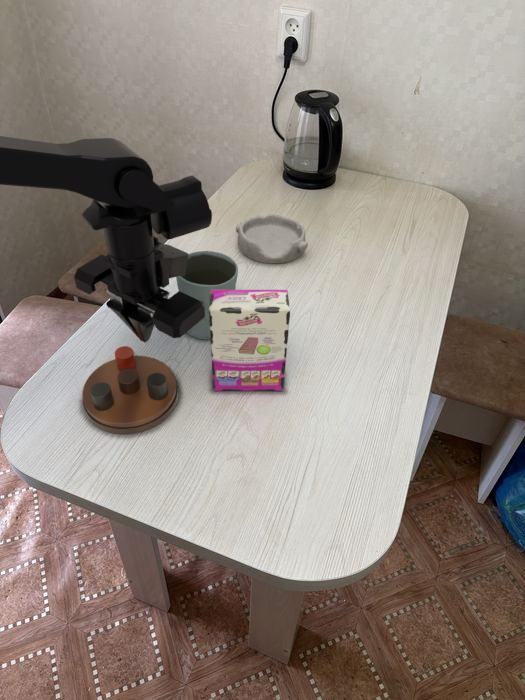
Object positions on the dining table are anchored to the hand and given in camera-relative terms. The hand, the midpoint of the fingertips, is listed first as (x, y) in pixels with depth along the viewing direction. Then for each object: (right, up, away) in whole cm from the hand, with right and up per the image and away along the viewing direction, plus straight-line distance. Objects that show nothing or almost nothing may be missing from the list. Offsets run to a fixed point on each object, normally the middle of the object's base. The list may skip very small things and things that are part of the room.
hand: (145, 340), depth 74 cm
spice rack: (-3, -8, +2) cm, 8 cm away
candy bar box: (+15, -6, +7) cm, 17 cm away
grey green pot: (+8, +3, +16) cm, 18 cm away
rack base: (-3, -9, +3) cm, 10 cm away
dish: (+19, +20, +35) cm, 45 cm away
